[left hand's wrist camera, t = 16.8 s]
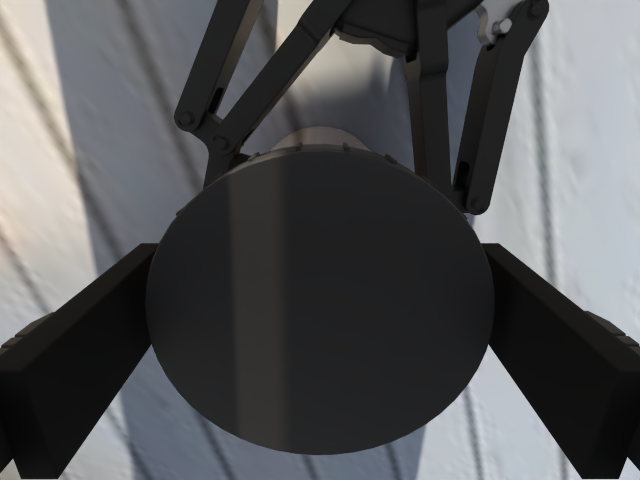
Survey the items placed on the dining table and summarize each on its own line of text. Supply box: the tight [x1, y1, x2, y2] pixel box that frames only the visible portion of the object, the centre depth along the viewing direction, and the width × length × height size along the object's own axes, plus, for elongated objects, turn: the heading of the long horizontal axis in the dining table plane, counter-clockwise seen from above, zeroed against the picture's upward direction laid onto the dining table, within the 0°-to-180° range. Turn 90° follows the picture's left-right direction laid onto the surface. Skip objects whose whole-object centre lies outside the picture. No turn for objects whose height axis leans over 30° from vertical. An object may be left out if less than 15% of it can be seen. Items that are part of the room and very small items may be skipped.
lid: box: [145, 142, 495, 455], centre depth 11 cm, size 10×10×2 cm
